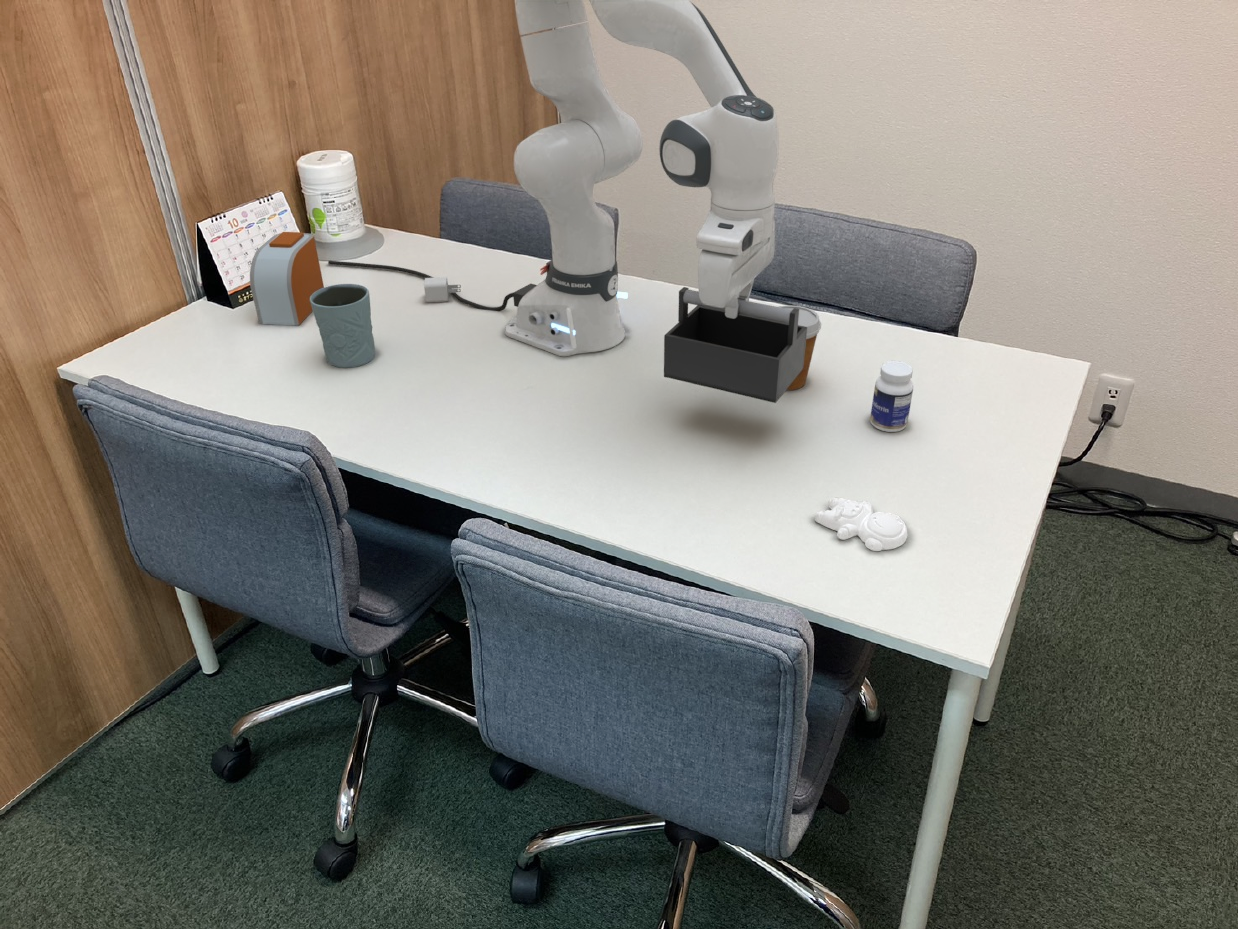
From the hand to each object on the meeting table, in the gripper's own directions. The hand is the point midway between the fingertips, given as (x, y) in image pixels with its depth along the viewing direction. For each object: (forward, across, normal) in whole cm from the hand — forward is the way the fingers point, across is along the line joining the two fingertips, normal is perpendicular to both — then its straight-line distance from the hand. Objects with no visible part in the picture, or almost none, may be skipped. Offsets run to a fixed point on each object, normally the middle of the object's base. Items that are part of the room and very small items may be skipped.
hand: (736, 311), depth 145 cm
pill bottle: (+20, -11, +22) cm, 31 cm away
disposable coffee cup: (+20, -17, +3) cm, 26 cm away
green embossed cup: (+19, +9, -70) cm, 73 cm away
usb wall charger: (+19, -19, -70) cm, 75 cm away
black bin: (+10, 0, 0) cm, 10 cm away
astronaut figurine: (+20, +17, +26) cm, 37 cm away
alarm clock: (+19, -2, -94) cm, 96 cm away
